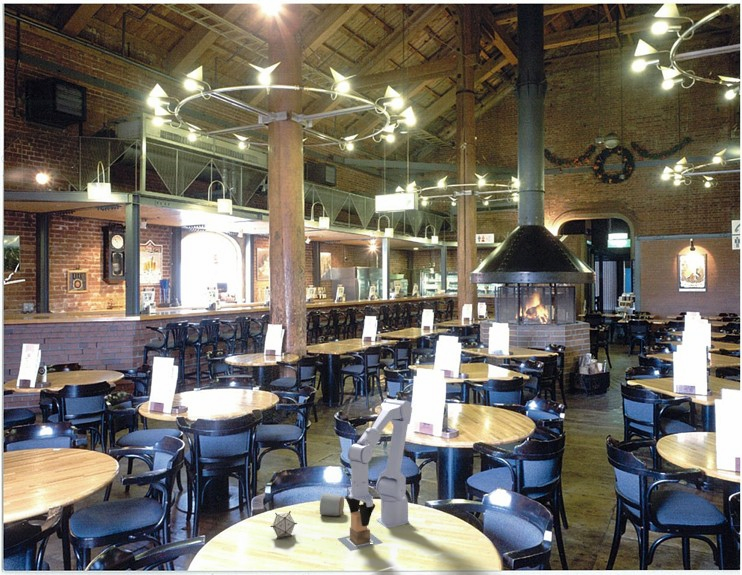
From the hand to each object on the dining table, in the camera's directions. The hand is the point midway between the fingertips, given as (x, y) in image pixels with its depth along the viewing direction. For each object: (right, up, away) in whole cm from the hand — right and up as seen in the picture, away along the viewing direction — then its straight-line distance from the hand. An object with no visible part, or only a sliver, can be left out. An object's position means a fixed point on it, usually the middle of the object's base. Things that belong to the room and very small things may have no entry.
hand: (359, 521), depth 183 cm
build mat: (0, -7, 0) cm, 7 cm away
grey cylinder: (-11, -7, +24) cm, 27 cm away
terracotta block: (0, -2, 0) cm, 2 cm away
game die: (-26, -7, +4) cm, 27 cm away
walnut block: (0, -6, 0) cm, 6 cm away
